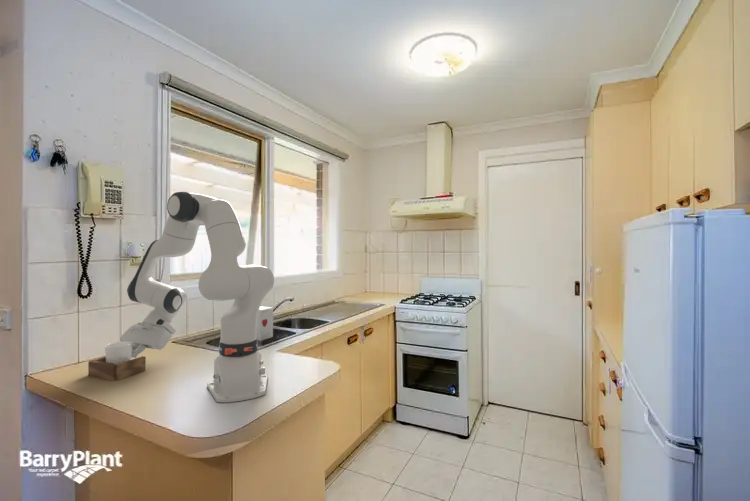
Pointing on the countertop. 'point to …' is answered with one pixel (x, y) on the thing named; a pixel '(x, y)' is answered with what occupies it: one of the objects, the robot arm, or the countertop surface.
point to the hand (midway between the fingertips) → (130, 356)
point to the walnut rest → (115, 368)
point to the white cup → (118, 352)
